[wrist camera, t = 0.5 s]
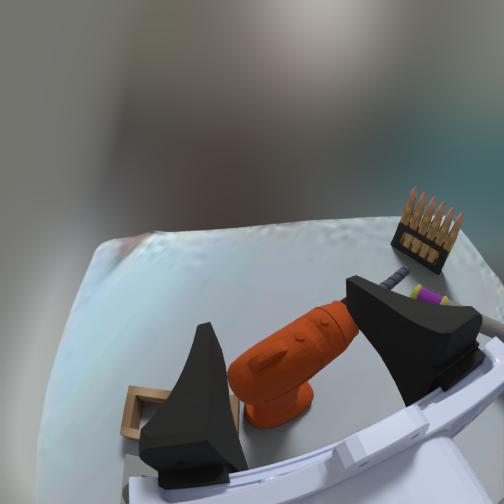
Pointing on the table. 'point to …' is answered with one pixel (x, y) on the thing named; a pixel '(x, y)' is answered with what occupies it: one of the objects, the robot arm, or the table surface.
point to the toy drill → (293, 361)
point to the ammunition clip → (426, 233)
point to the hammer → (488, 324)
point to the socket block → (135, 470)
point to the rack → (157, 396)
